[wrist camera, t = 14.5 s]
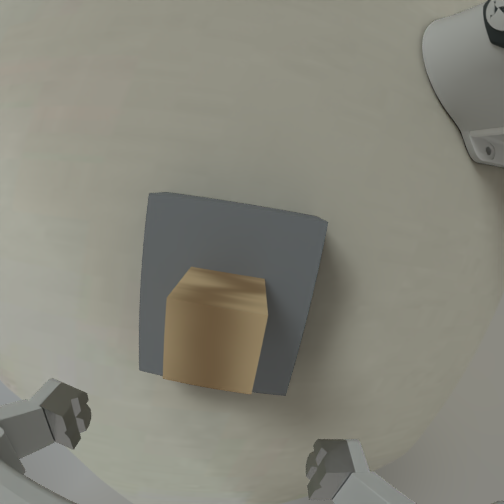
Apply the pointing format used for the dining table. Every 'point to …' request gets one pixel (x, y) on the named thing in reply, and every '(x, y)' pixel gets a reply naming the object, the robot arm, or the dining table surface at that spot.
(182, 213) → the slate base
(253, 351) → the oak block
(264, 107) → the dining table surface
